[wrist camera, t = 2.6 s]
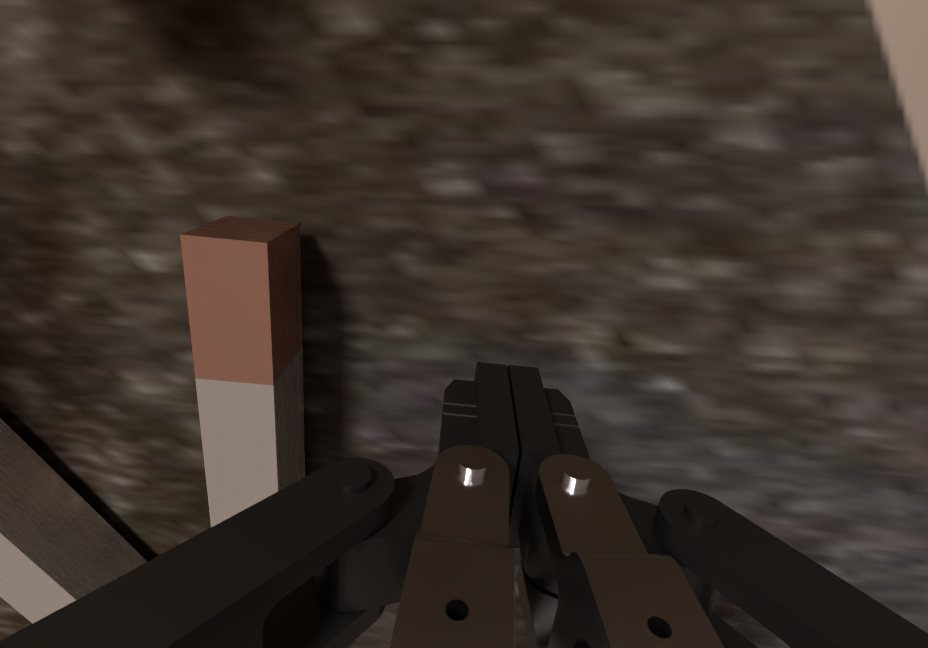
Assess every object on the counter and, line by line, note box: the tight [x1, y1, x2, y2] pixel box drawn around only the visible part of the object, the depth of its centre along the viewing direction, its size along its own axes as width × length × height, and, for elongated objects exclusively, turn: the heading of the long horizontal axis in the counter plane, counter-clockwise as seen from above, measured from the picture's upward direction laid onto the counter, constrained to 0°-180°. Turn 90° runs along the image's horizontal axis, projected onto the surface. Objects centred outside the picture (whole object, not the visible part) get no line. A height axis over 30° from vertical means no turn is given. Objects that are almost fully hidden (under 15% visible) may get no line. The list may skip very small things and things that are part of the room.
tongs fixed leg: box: [0, 418, 147, 623], centre depth 21 cm, size 24×7×3 cm, turn 30°
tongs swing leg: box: [180, 216, 305, 527], centre depth 20 cm, size 21×4×3 cm, turn 175°
